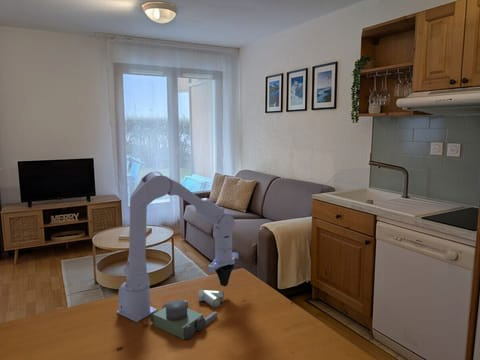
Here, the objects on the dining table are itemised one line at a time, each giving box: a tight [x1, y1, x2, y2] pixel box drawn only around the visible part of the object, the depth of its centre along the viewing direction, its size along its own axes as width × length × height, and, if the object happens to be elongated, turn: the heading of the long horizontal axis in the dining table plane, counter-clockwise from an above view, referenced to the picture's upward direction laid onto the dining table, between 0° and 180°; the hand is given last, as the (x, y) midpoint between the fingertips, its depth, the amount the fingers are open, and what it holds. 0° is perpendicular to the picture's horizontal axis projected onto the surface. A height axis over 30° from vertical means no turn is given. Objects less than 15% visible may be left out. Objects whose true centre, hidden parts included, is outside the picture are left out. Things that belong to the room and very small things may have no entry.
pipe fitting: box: [197, 289, 225, 309], centre depth 115 cm, size 8×4×7 cm
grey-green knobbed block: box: [149, 299, 218, 340], centre depth 105 cm, size 14×14×6 cm
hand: (224, 285), depth 120 cm, fingers closed
